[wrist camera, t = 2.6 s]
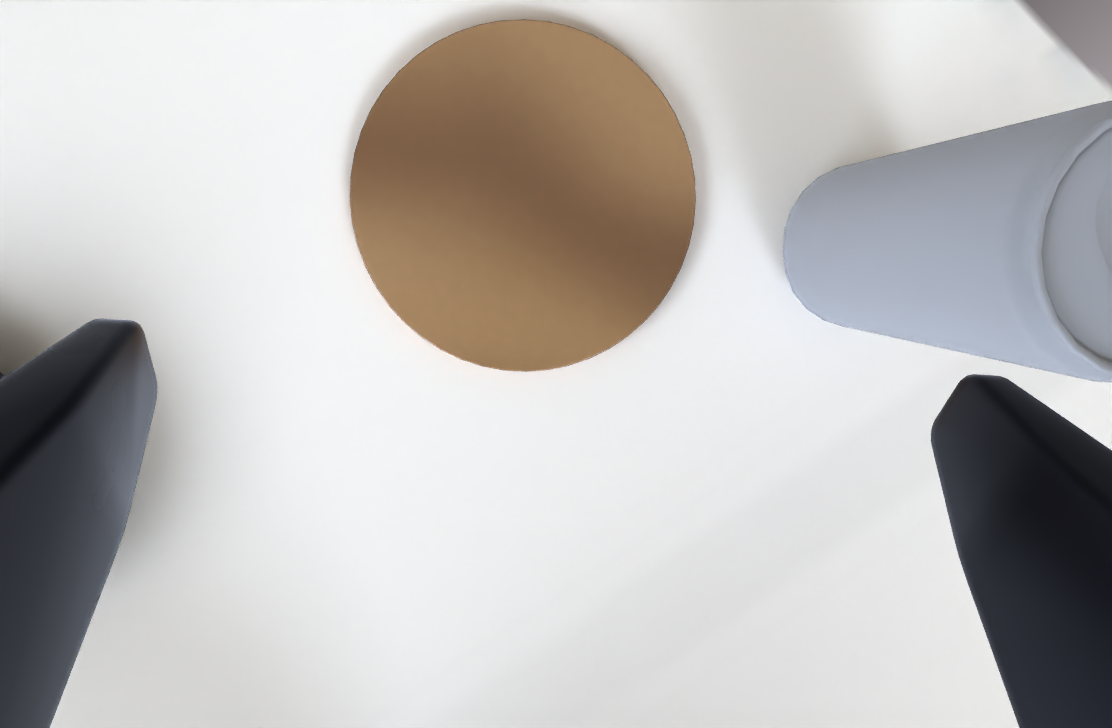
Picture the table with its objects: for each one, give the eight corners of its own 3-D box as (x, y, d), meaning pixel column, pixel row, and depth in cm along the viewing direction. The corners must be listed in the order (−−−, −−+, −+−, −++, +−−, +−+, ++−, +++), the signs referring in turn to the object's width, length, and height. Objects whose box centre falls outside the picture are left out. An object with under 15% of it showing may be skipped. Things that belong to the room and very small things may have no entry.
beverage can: (826, 356, 25) (1116, 448, 13) (743, 226, 25) (971, 202, 13) (956, 266, 25) (1363, 279, 13) (876, 133, 24) (1231, 22, 13)
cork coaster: (666, 388, 25) (669, 390, 25) (336, 348, 24) (333, 349, 24) (717, 51, 24) (720, 48, 23) (370, -4, 23) (368, -8, 23)
